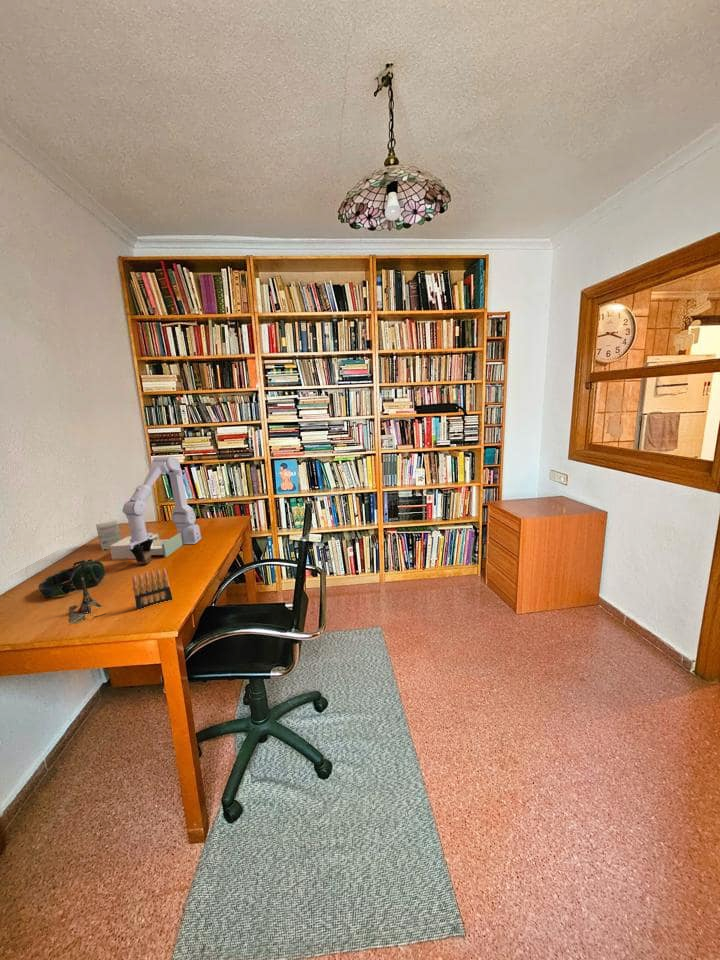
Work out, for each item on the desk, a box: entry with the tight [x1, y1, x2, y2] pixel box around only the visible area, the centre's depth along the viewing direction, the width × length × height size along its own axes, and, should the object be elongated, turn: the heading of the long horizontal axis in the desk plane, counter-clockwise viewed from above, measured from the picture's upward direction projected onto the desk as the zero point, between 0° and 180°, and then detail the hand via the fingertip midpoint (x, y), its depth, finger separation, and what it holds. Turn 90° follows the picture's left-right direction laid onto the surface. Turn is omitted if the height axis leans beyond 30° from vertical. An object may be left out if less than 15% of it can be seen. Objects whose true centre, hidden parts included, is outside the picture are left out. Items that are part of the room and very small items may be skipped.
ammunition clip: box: [131, 567, 173, 611], centre depth 123 cm, size 11×2×12 cm, turn 122°
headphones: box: [38, 558, 106, 598], centre depth 139 cm, size 13×13×20 cm
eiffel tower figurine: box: [68, 574, 103, 624], centre depth 122 cm, size 15×10×13 cm
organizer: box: [109, 533, 160, 560], centre depth 171 cm, size 14×14×6 cm
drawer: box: [150, 532, 183, 558], centre depth 170 cm, size 14×14×6 cm
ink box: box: [95, 519, 122, 551], centre depth 182 cm, size 9×9×12 cm
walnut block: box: [135, 551, 153, 565], centre depth 158 cm, size 4×4×4 cm
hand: (143, 558), depth 158 cm, fingers closed on walnut block, 4 cm apart
